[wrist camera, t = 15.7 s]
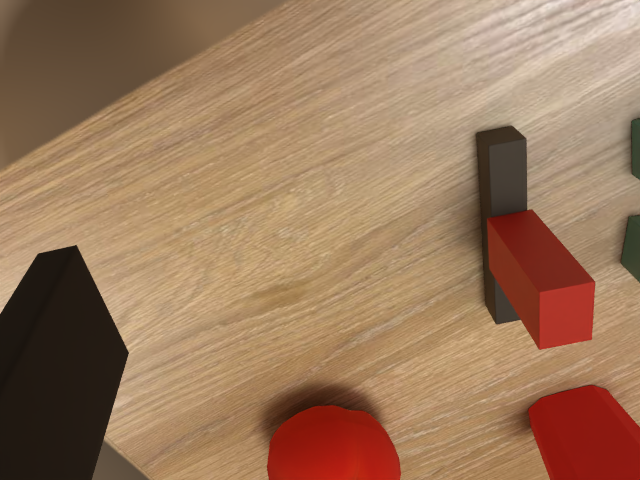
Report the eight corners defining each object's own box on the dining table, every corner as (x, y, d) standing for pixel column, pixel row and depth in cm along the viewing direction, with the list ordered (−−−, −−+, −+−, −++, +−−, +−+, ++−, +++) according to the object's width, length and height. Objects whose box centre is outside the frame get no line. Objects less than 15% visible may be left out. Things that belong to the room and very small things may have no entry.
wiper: (481, 306, 46) (539, 413, 36) (471, 133, 39) (539, 209, 29) (520, 299, 46) (588, 404, 36) (517, 124, 39) (600, 197, 29)
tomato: (286, 369, 47) (291, 458, 40) (413, 396, 50) (440, 485, 42) (248, 460, 52) (246, 556, 44) (366, 481, 54) (382, 574, 47)
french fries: (520, 436, 53) (590, 580, 42) (515, 402, 51) (587, 544, 40) (623, 410, 53) (722, 549, 41) (623, 375, 50) (727, 511, 39)
